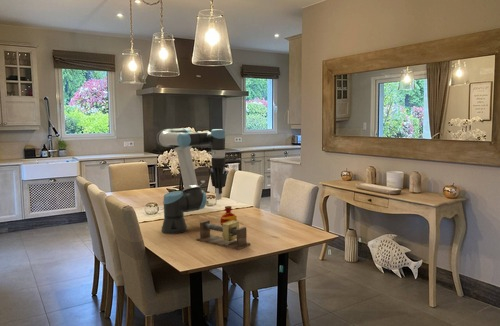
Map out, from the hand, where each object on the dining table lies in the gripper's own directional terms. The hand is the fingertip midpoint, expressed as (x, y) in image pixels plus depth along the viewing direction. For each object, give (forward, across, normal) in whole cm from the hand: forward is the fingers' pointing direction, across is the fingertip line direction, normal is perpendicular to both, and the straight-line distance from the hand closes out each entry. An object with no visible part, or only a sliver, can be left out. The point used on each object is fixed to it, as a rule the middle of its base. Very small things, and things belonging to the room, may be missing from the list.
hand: (218, 199), depth 225 cm
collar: (+20, +12, -4) cm, 23 cm away
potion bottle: (+23, -5, +15) cm, 28 cm away
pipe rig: (+23, +6, -4) cm, 24 cm away
